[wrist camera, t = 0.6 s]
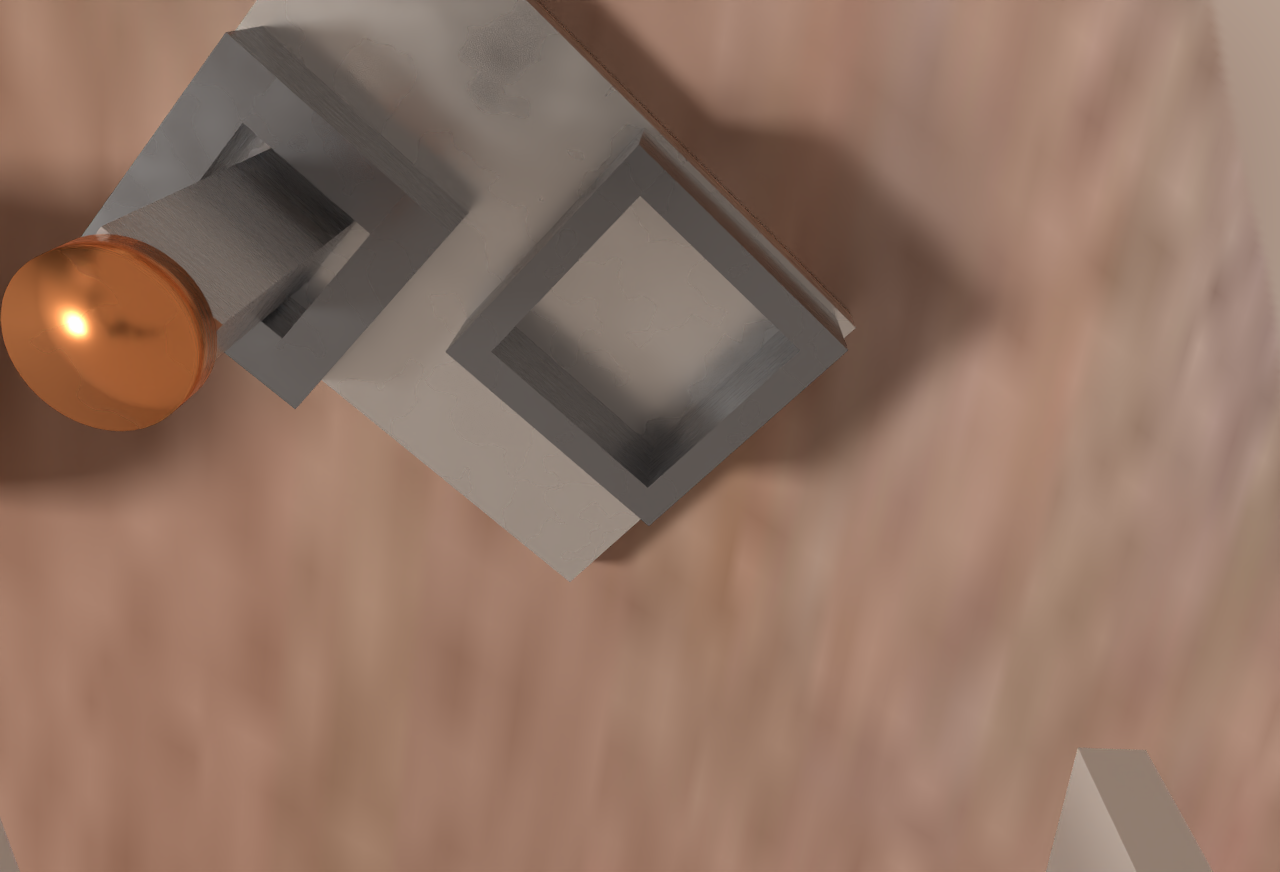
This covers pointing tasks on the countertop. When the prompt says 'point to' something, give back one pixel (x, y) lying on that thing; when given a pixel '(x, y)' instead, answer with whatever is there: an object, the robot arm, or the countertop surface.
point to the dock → (502, 259)
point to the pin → (165, 292)
